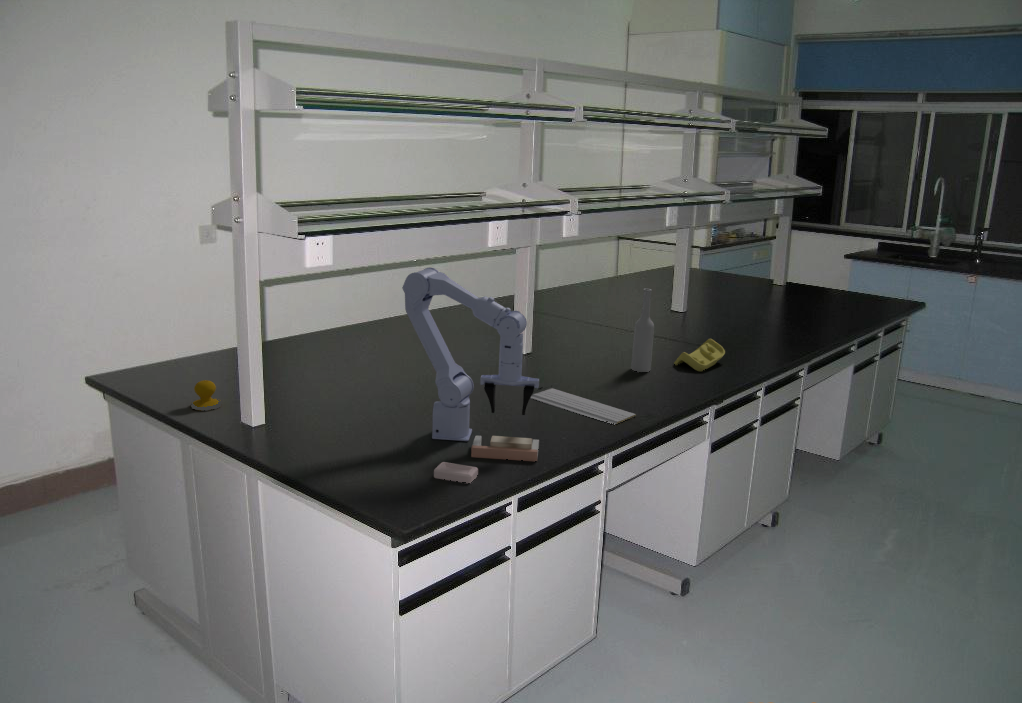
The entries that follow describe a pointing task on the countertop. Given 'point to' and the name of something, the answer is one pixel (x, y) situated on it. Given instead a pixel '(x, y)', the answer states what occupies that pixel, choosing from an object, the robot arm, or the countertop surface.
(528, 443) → the slat block
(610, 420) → the baseboard molding
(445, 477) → the soap bar
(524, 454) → the block with end panels
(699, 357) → the plastic component
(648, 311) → the bottle
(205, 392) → the doorknob
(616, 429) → the countertop surface
